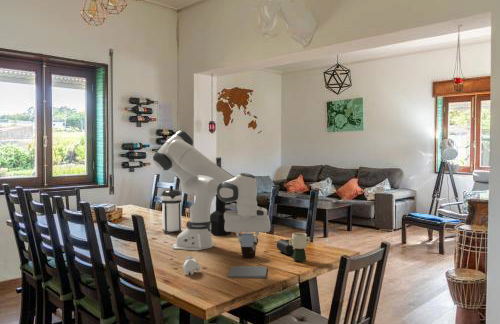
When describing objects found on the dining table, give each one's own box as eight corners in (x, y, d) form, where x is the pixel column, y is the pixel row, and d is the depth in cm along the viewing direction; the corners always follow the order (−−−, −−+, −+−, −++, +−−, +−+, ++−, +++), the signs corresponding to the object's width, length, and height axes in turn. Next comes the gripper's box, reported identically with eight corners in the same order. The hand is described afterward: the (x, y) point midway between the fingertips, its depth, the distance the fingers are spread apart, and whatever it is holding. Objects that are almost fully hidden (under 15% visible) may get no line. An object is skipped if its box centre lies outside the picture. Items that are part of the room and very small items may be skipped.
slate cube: (241, 246, 182) (241, 235, 182) (242, 243, 187) (242, 232, 187) (252, 246, 182) (252, 235, 181) (253, 244, 187) (253, 232, 186)
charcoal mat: (228, 277, 179) (228, 275, 179) (232, 267, 193) (232, 265, 193) (265, 278, 177) (265, 276, 177) (267, 268, 191) (267, 266, 191)
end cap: (276, 252, 219) (276, 239, 219) (288, 250, 222) (287, 237, 222) (286, 256, 210) (286, 243, 210) (298, 255, 213) (298, 241, 213)
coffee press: (189, 230, 274) (189, 185, 273) (172, 235, 261) (172, 187, 259) (170, 228, 283) (169, 183, 282) (152, 232, 270) (151, 186, 268)
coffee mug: (244, 260, 204) (244, 240, 204) (237, 256, 212) (236, 236, 212) (265, 257, 210) (265, 237, 209) (257, 253, 217) (257, 234, 217)
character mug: (306, 257, 208) (306, 231, 207) (313, 261, 201) (312, 234, 200) (286, 259, 205) (286, 233, 204) (291, 263, 198) (291, 236, 197)
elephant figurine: (203, 275, 183) (203, 258, 182) (181, 276, 181) (180, 260, 180) (201, 269, 190) (201, 254, 190) (180, 271, 188) (179, 255, 188)
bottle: (217, 237, 254) (217, 188, 252) (203, 233, 266) (202, 186, 265) (238, 233, 263) (238, 186, 262) (223, 229, 276) (223, 184, 275)
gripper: (222, 211, 181) (222, 243, 182) (269, 211, 179) (270, 243, 180) (224, 209, 188) (225, 239, 188) (270, 209, 186) (270, 240, 186)
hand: (247, 241), depth 184 cm, fingers closed on slate cube, 5 cm apart
